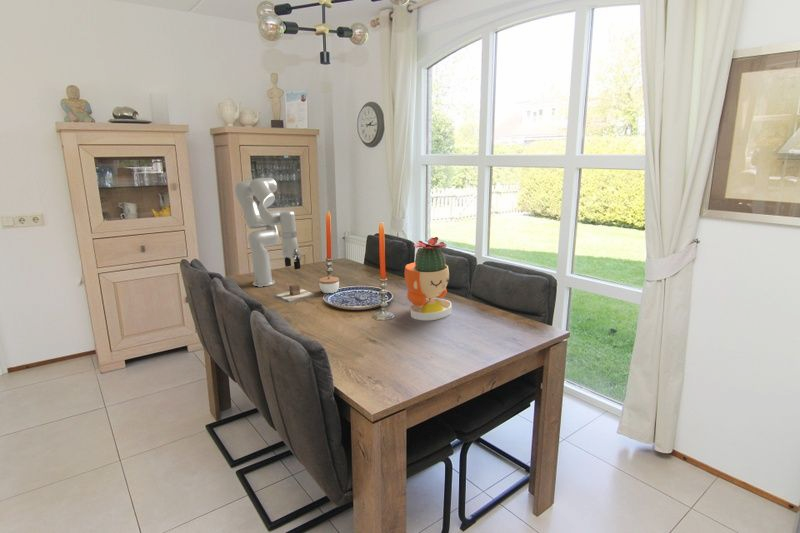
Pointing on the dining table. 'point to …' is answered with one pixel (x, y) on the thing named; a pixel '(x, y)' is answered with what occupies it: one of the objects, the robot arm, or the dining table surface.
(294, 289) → the birch lid
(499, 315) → the dining table surface
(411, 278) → the potted cactus
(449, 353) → the dining table surface
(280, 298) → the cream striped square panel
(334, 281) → the lidded jar
